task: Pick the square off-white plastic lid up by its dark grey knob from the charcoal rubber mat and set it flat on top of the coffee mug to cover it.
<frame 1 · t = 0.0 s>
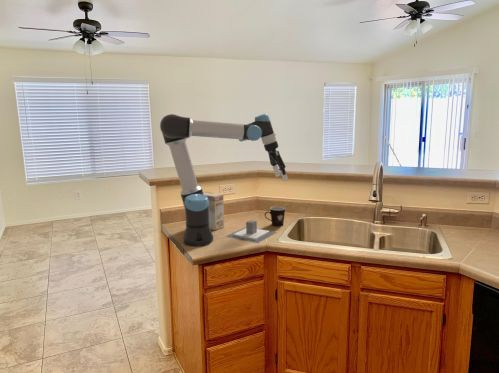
hand: (282, 178, 204), 28 cm above the worktop, tool tilted 20°, fingers open, 13 cm apart
lid: (251, 234, 194), resting on mat
mat: (251, 235, 194), on the worktop
coffee mug: (275, 225, 211), on the worktop
coffeecake box: (211, 227, 210), on the worktop
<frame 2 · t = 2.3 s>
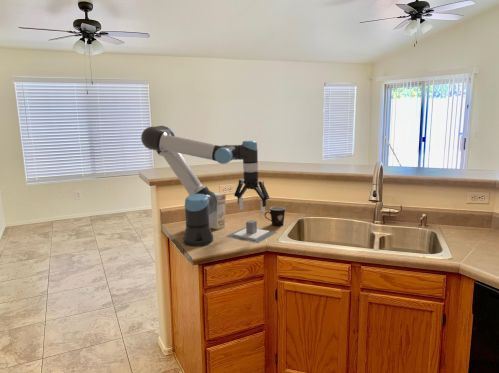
hand: (251, 211, 192), 13 cm above the worktop, tool pointing down, fingers open, 13 cm apart
coffeecake box: (211, 226, 210), on the worktop, touching arm
everything else where it was.
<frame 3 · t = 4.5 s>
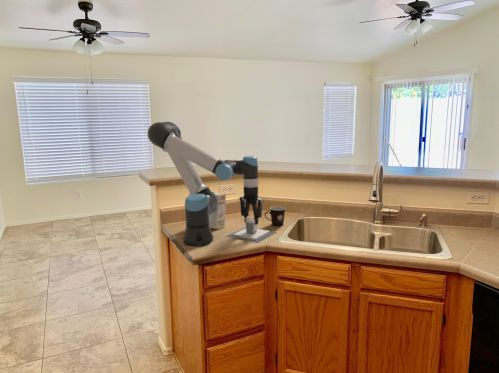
hand: (251, 229, 194), 3 cm above the worktop, tool pointing down, fingers closed on lid, 4 cm apart
lid: (251, 234, 194), resting on mat, touching gripper
everything else where it was.
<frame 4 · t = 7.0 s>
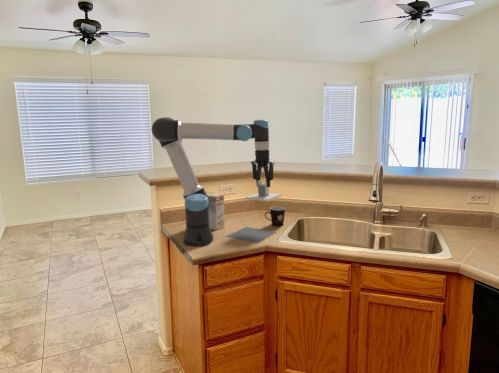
hand: (263, 192, 198), 21 cm above the worktop, tool pointing down, fingers closed on lid, 4 cm apart
lid: (263, 197, 198), point 19 cm above the worktop, touching gripper
coffeecake box: (211, 227, 210), on the worktop
everything else where it was.
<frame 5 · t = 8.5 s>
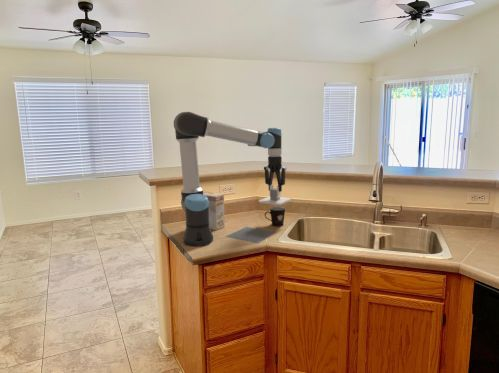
hand: (275, 196, 208), 17 cm above the worktop, tool pointing down, fingers closed on lid, 4 cm apart
lid: (275, 201, 209), point 14 cm above the worktop, touching gripper
everything else where it was.
when the fingers open (14 cm above the worktop, at t = 9.6 s): lid drops 1 cm, resting on coffee mug.
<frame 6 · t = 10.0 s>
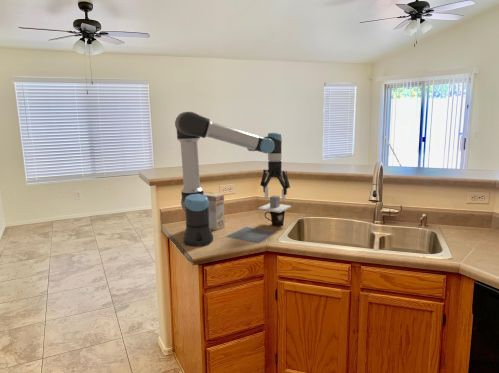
hand: (274, 199, 208), 15 cm above the worktop, tool pointing down, fingers open, 10 cm apart
lid: (274, 208, 209), point 10 cm above the worktop, touching coffee mug
coffee mug: (275, 225, 211), on the worktop, touching lid
everything else where it was.
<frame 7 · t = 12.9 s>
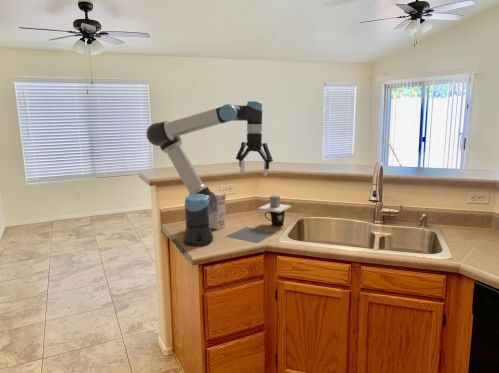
hand: (253, 174, 188), 33 cm above the worktop, tool pointing down, fingers open, 13 cm apart
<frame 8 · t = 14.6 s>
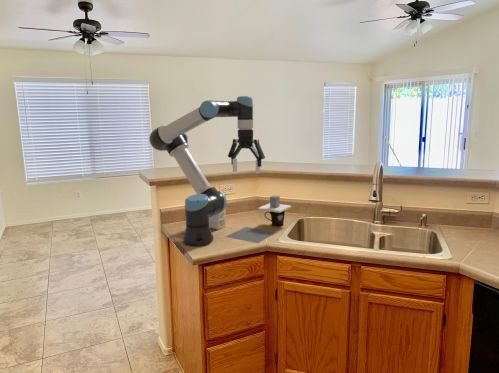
hand: (246, 172, 181), 35 cm above the worktop, tool pointing down, fingers open, 13 cm apart
coffeecake box: (211, 227, 210), on the worktop, touching arm
everything else where it was.
at the end: lid 0.1 cm off-centre on the coffee mug, point 10.2 cm above the coffee mug's base; lid tilted 0°; coffee mug tilted 0° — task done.
